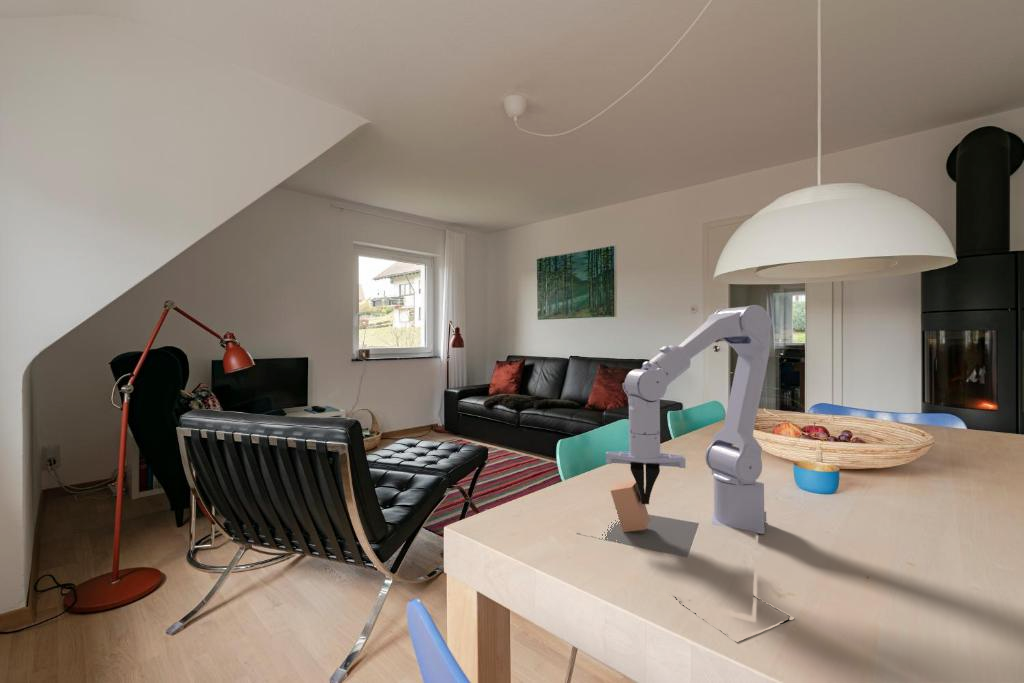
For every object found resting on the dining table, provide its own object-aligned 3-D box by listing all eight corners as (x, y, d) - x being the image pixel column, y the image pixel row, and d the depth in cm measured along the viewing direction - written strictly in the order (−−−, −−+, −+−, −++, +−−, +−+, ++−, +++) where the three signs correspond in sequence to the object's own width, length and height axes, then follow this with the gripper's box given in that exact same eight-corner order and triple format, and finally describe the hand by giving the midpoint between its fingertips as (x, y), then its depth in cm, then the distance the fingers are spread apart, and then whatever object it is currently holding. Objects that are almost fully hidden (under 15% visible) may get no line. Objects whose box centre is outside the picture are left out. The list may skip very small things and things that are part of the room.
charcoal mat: (698, 526, 90) (698, 523, 90) (686, 560, 76) (686, 557, 76) (602, 509, 100) (602, 506, 100) (575, 536, 86) (575, 533, 86)
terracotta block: (650, 521, 88) (637, 480, 90) (645, 529, 85) (631, 487, 86) (629, 523, 90) (616, 484, 92) (623, 532, 87) (610, 490, 88)
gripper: (682, 429, 89) (683, 498, 89) (607, 426, 92) (607, 492, 92) (686, 436, 82) (687, 511, 82) (605, 433, 86) (605, 504, 86)
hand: (645, 502), depth 87 cm, fingers closed
